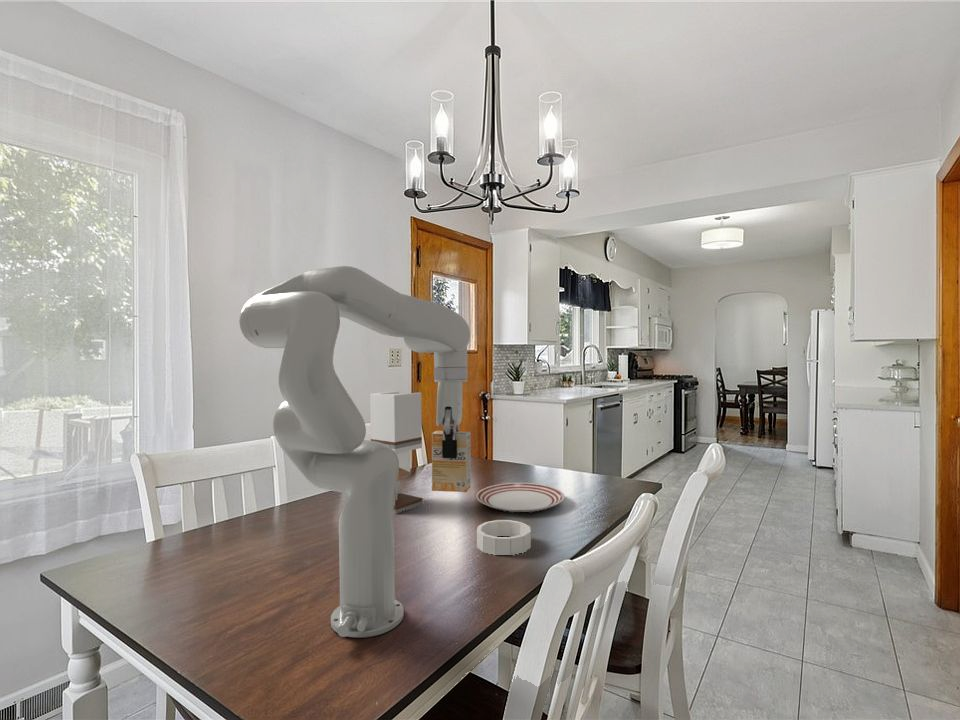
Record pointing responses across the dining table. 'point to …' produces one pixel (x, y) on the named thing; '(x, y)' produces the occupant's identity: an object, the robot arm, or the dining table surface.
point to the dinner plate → (520, 497)
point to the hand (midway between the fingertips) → (451, 454)
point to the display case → (398, 434)
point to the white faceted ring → (503, 545)
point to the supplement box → (451, 464)
